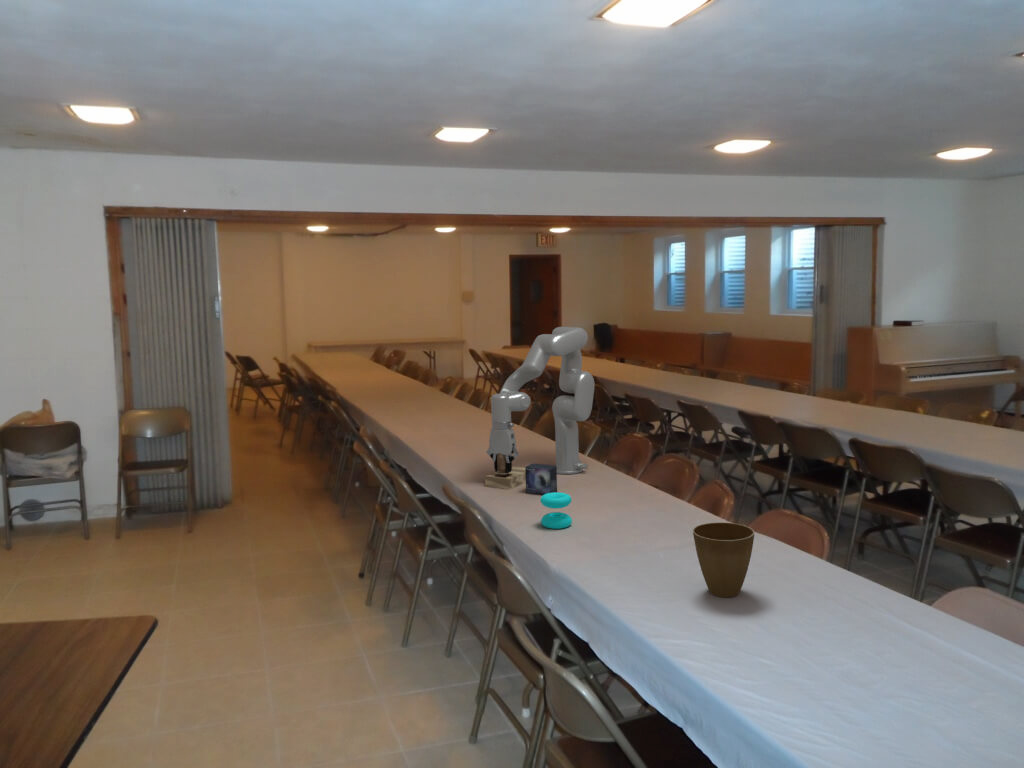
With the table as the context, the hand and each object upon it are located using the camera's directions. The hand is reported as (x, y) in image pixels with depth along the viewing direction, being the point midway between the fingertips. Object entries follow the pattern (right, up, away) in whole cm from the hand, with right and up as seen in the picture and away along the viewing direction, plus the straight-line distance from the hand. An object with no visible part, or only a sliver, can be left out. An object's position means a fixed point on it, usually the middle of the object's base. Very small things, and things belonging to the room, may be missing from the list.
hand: (503, 471), depth 314 cm
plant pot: (+57, -18, -112) cm, 127 cm away
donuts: (+18, -12, -52) cm, 57 cm away
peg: (0, -4, +1) cm, 5 cm away
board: (+3, -5, +5) cm, 8 cm away
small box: (+15, -7, -12) cm, 20 cm away
